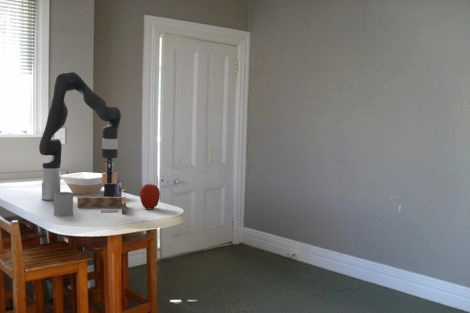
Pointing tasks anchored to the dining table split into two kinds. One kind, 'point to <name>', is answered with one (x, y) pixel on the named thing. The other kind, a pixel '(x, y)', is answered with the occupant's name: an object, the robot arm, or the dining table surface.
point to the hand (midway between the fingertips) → (109, 182)
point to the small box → (113, 189)
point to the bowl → (84, 182)
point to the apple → (149, 196)
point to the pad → (109, 210)
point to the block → (104, 178)
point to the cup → (63, 204)
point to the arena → (102, 202)
